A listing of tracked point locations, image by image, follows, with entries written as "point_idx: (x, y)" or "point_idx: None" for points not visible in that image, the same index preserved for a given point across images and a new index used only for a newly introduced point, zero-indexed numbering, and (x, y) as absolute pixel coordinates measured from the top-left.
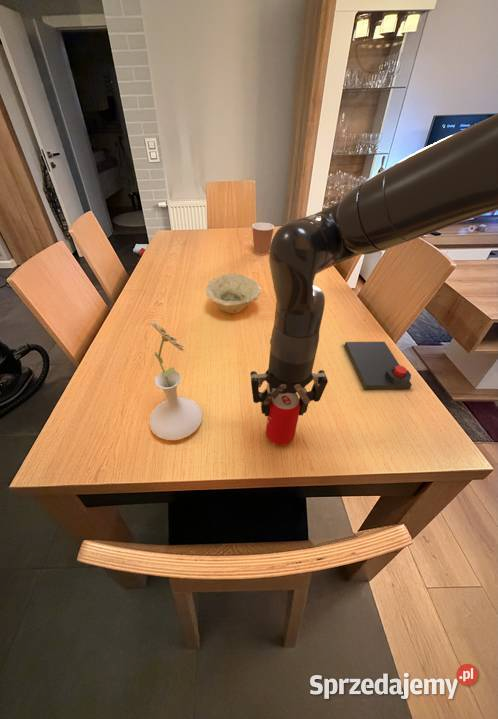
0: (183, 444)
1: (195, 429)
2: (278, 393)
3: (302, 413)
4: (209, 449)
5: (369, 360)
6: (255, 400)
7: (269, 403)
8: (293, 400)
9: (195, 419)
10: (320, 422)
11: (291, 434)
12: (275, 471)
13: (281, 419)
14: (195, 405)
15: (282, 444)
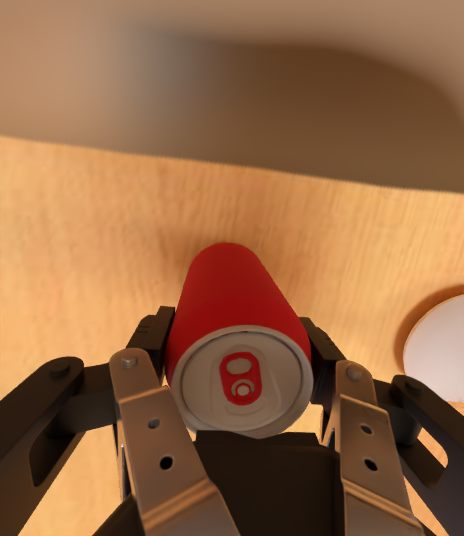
0: (449, 282)
1: (433, 313)
2: (351, 446)
3: (161, 311)
4: (399, 262)
5: None
6: (421, 390)
7: (321, 367)
8: (203, 374)
9: (439, 338)
10: (105, 303)
11: (207, 257)
12: (261, 178)
13: (265, 288)
14: (427, 376)
15: (230, 243)
